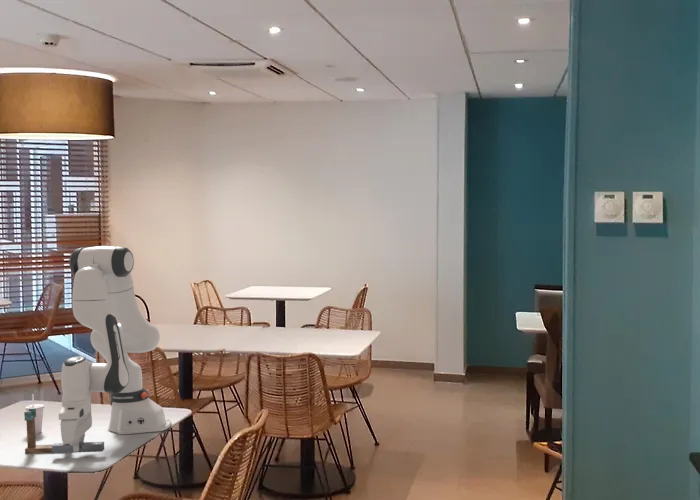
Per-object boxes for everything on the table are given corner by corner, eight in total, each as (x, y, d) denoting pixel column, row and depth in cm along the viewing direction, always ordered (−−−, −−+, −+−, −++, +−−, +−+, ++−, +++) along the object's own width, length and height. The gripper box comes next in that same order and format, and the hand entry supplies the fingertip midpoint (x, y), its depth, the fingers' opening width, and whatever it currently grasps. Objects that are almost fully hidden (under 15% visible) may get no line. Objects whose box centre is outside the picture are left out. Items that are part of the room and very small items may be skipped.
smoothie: (29, 430, 280) (28, 392, 279) (47, 429, 280) (46, 391, 280) (24, 435, 274) (22, 396, 273) (42, 434, 274) (40, 396, 273)
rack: (75, 447, 257) (73, 407, 257) (70, 452, 253) (68, 410, 252) (30, 449, 257) (28, 408, 256) (24, 453, 252) (22, 412, 251)
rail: (104, 449, 249) (104, 441, 249) (102, 451, 246) (101, 444, 246) (55, 450, 248) (54, 443, 248) (52, 453, 246) (52, 445, 245)
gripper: (77, 399, 257) (78, 439, 257) (56, 416, 236) (58, 459, 237) (95, 399, 257) (97, 439, 258) (76, 415, 236) (78, 458, 237)
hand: (78, 449), depth 247 cm, fingers open, 3 cm apart
